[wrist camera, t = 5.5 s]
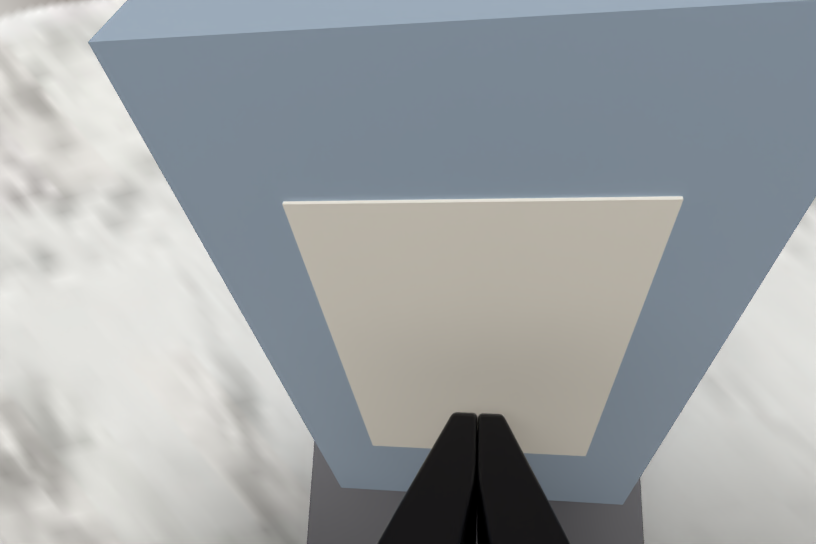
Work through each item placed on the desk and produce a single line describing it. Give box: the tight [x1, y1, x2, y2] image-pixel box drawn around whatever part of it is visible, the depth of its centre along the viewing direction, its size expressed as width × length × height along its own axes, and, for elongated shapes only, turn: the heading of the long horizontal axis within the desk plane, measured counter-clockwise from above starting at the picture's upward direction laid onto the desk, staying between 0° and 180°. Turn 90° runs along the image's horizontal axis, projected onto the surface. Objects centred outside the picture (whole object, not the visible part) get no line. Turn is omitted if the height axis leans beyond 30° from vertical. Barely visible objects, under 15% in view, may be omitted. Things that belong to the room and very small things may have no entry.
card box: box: [88, 0, 816, 505], centre depth 10 cm, size 3×7×12 cm, turn 88°
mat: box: [307, 441, 644, 544], centre depth 16 cm, size 16×9×1 cm, turn 178°
